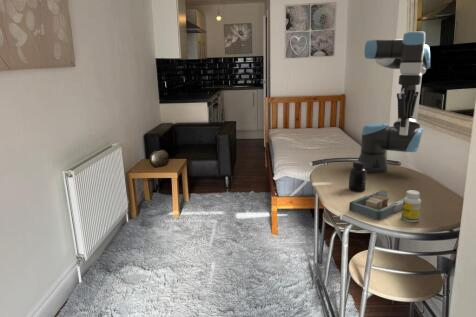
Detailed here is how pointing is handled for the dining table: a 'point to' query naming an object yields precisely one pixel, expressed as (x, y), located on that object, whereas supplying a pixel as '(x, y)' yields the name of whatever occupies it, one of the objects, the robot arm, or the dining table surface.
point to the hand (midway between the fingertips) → (403, 134)
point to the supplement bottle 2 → (411, 206)
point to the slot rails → (384, 194)
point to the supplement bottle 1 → (357, 177)
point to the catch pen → (370, 209)
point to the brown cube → (383, 199)
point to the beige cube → (374, 203)
